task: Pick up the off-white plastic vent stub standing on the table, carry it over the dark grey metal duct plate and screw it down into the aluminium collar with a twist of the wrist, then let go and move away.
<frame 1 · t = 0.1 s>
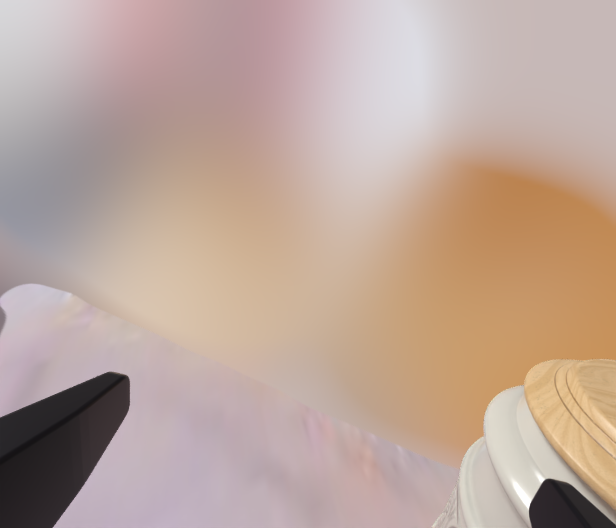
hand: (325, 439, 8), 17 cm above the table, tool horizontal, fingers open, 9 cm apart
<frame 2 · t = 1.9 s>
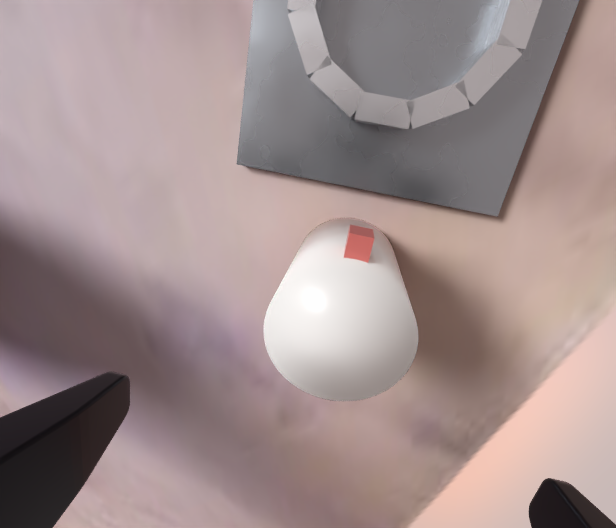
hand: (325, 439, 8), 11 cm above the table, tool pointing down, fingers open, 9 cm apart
duct plate: (404, 13, 14), on the table
vent stub: (345, 265, 18), on the table
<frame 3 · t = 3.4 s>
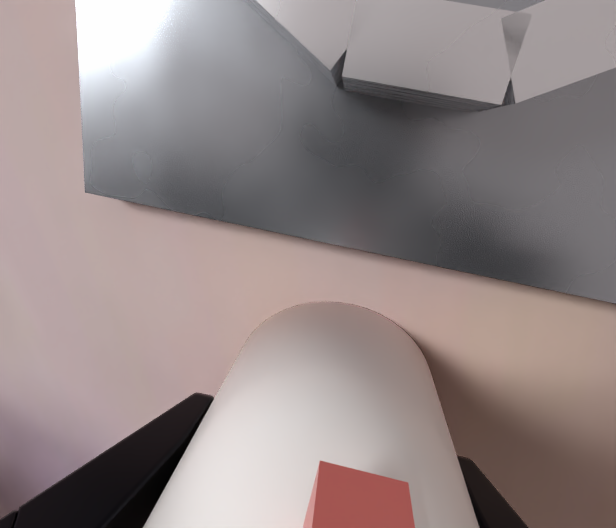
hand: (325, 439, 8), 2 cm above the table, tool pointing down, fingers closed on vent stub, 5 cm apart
vent stub: (330, 390, 9), on the table, touching gripper
when the fingers open (3 cm above the table, at t = 6.9 s): vent stub stays where it is, resting on duct plate.
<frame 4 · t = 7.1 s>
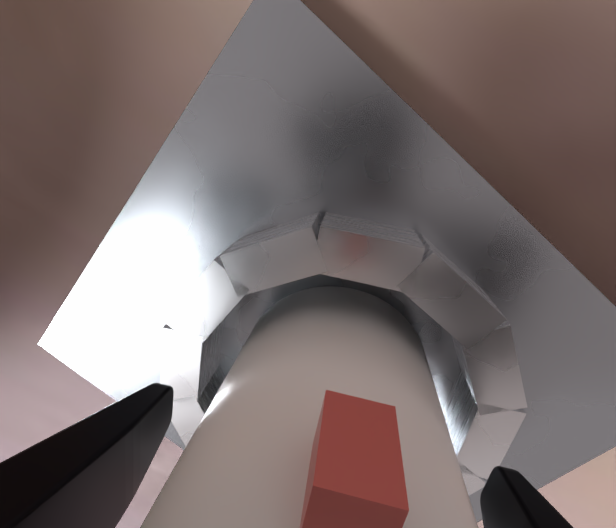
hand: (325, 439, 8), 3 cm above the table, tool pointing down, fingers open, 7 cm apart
duct plate: (334, 354, 10), on the table
vent stub: (333, 368, 10), point 1 cm above the table, touching duct plate
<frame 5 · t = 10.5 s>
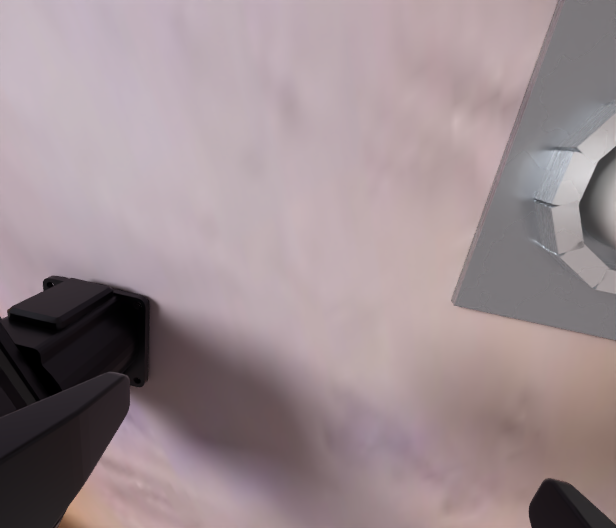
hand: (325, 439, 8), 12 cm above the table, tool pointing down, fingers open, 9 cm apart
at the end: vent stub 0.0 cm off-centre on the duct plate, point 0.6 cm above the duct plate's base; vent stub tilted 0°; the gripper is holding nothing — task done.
